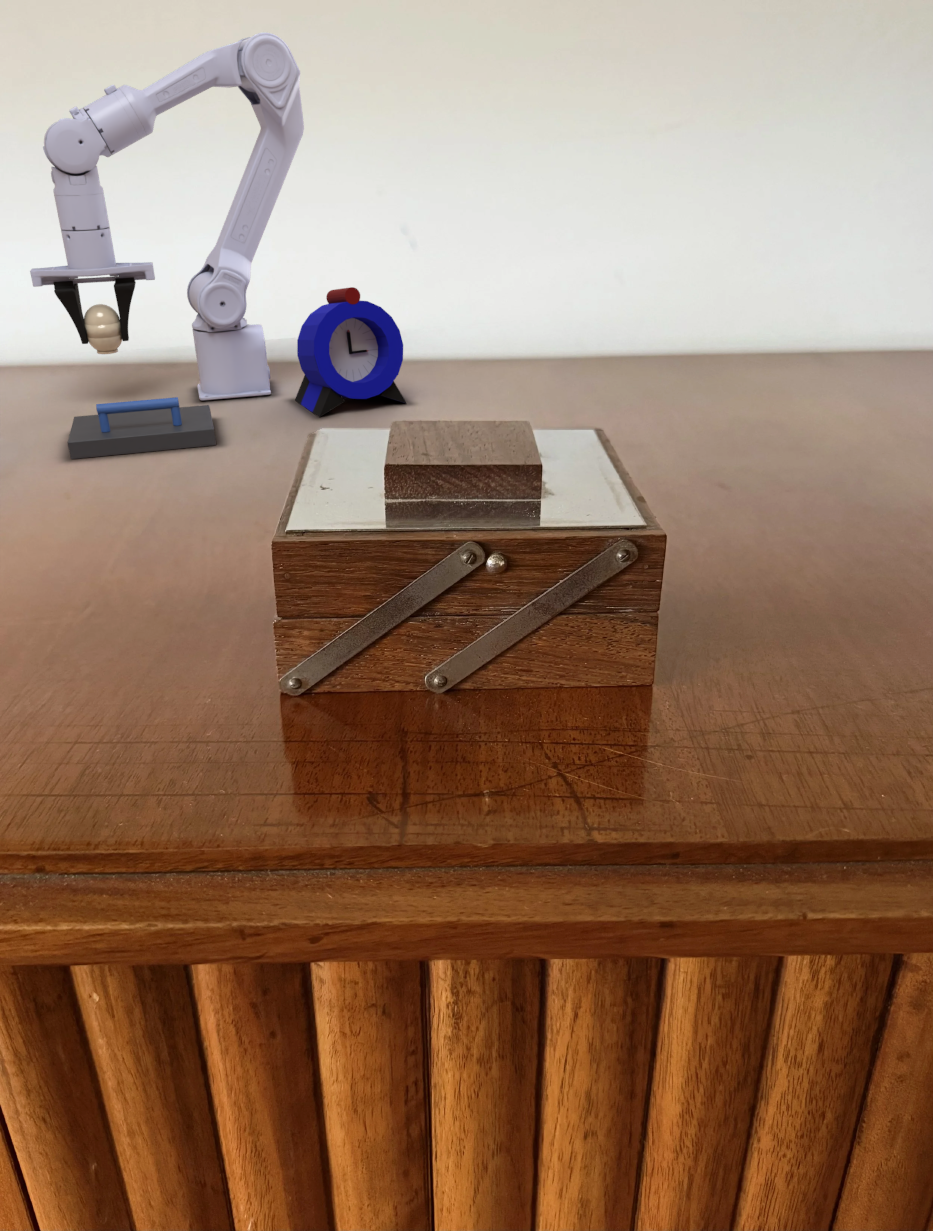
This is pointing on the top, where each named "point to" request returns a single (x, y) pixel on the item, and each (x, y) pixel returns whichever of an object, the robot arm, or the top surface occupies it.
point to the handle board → (140, 428)
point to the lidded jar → (103, 329)
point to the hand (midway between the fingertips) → (106, 340)
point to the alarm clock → (348, 353)
